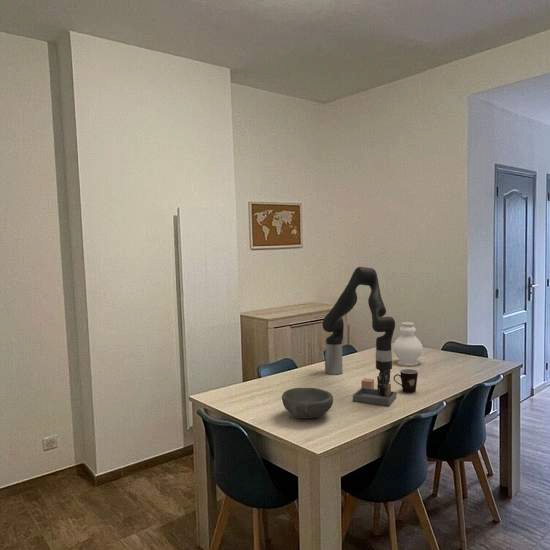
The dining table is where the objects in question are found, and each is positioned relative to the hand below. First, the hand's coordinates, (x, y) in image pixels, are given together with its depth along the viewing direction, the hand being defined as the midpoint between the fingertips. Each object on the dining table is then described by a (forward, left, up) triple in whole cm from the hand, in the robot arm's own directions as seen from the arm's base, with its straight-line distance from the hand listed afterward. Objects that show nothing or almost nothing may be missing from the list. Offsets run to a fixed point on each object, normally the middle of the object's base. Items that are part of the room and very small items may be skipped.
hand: (384, 394), depth 230 cm
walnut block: (0, 0, 0) cm, 0 cm away
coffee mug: (+5, +20, -4) cm, 21 cm away
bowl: (-25, -33, -4) cm, 41 cm away
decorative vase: (-7, +74, -4) cm, 74 cm away
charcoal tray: (-5, 0, -3) cm, 6 cm away
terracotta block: (-13, +14, -3) cm, 19 cm away
